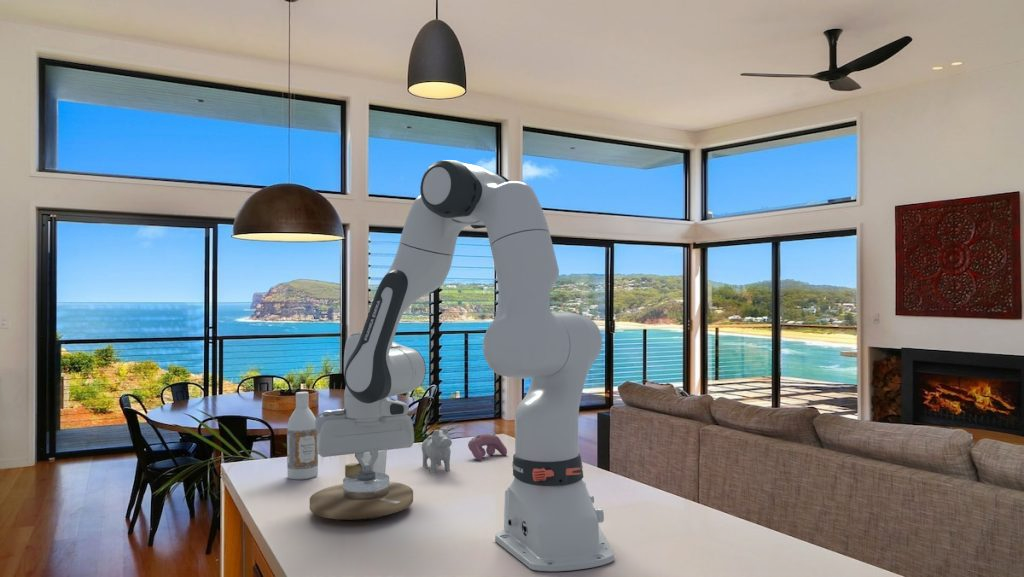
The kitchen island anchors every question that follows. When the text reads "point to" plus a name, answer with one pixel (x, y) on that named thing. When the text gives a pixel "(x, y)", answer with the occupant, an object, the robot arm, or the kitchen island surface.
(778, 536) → the kitchen island surface
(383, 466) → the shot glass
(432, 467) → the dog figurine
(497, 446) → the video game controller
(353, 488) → the cover
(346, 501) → the turntable
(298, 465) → the bath foam
